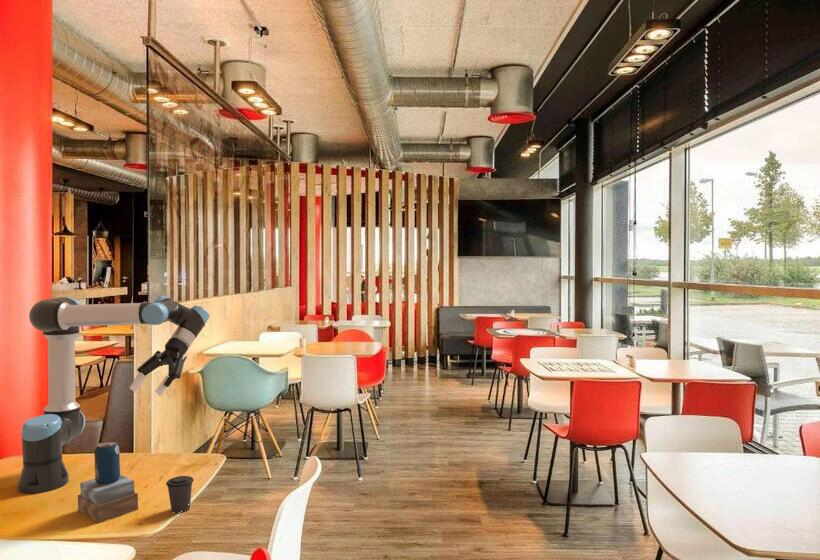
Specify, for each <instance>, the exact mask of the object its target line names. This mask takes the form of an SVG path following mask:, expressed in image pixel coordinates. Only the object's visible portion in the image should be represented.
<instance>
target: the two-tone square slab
mask: <svg viewBox="0 0 820 560" xmlns="http://www.w3.org/2000/svg"><path fill="white" fill-rule="evenodd" d="M79 484H80V494H78V495H77V512H79V513H80V512H81V514H82V513H83V514H82V515H83V516H85V515H86V517H87V516H88V517H87V518H89V519H90V518H91V521H93V522H95V521H96V523H97V524H101V523H104V522H106V521H109V520H111V519H115V518H117V517H118V518H119V517H122V516H123V515H126V514H128V513H129V514H130V513H132V512H135V511H138V510H139V498H138V497H139V496H138V495H139V494H138V492H136V491H135V480H133V479H132V478H129V477H127V476H125V475H122V474H120V478H119V479H118V481H117V482H115V483H113V484H109V485H99V484H98V483H97V482H96V480H95V478H92V479H90V480H86V481H83V482H79ZM108 519H109V520H108ZM105 520H106V521H105Z"/></svg>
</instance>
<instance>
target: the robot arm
mask: <svg viewBox="0 0 820 560" xmlns="http://www.w3.org/2000/svg"><path fill="white" fill-rule="evenodd" d="M28 317H29V321H30V324H31V325H32V326H33V327H34V328H35V329H36V330H37V331H40V332H42V336H43V337H45V338H46V339H47V364H48V365H47V370H48V371H47V373H48V374H47V376H48V377H47V378H48V379H47V380H48V382H47V384H48V387H47V388H48V389H47V390H48V404H47V405H46V406H45V407H44V408H43V414H41V415H38V416H33V417H31V418H29V419H27V420H26V421H24V422H23V424H22V427H21V431H20V432H21V435H20V437H21V448H22V469H21V471H20V475H19V478H18V480H17V481H18V482H17V491H18V492H19V493H23V494H37V493H43V492H49V491H52V490H56V489H58V488H60V487H64V486H65V485H67V484H68V483H69V482H70V481H69V479H70V474H69V471H68V470H67V468H66V465H65V463H64V460H63V446H64V445H66V444H68V443H69V442H72V441H74V440H75V439H76V438H78V437H79V436H80V435H81V434H82V432H83V431H84V429H85V426H86V417H85V414H84V413H83V412H82V410H81V405H80V404H79V403H78V402H77V401H76V349H75V348H76V344H75V343H76V340H75V339H76V337H78V335H80V327H98V326H99V327H101V326H126V325H127V326H128V325H129V326H130V325H150V326H151V325H152V326H157V325H161V324H164V323H166V322H169V323H172V324H174V325H176V326H177V327H176V329H175V331H174V332H173V333H172V334H171V336H170V337H169V339H168V340H167V342H166V343H165V344H164V351H160V350H156V351H155V353H154V354H153V355H152V356H150V357H149V358H148V359H147V360H146V361H145V362H144V363H142V364H141V365H140V366H139V367H137V369H136V371H137V372H138V375H136V377H135V378H134V381H133V382H131V384H130V386H128V388H129V390H131V391H132V392H133V393H136V392H137V391H138V390H139V388H140V386H141V385H142V384H143V383H144V381H146V378H147V375H149V374H150V373H152V372H154V371H155V370H156V369H158V368H160V367H163V366H166V365H167V366H168V373H167V374H166V375H165V377H163V380H162V381H161V383H160V384H159V385H158V386H157V388H156V389H155V393H156V394H157V395H159V397H163V395H164V394H165V392H166V390H167V389H168V388H169V387H170V385H171V384H172V382H173V381H174V380H176V379H177V380H179V379H181V377H182V372H183V369H184V364H185V361H186V360H187V359H188V358H187V355H185V354H186V353H187V351H189V348H190V347H191V345H192V344H193V343H194V341H195V340H196V338H197V337H198V336H199V334H200V333H201V331H202V330H203V328H204V327H205V326H206V324H207V322H208V321H209V319H210V313H209V311H208V310H207V309H206V308H205V307H203V306H201V305H196V304H195V305H193V306H192V307H187V306H185V305H183V304H181V303H179V302H177V301H176V300H173V299H172V298H170V297H167V296H165V295H159V296H158V297H157V298H156V299H155V300H154V302H132V303H131V302H129V303H102V304H101V303H98V304H93V303H92V304H81V303H80V301H78V300H77V299H75V298H73V297H65V296H61V297H60V296H59V297H54V298H48V299H42V300H40V301H38V302H36V303H35V304H34V305H32V307H31V308H30V310H29V316H28Z"/></svg>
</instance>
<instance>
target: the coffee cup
mask: <svg viewBox="0 0 820 560" xmlns="http://www.w3.org/2000/svg"><path fill="white" fill-rule="evenodd" d="M194 481H195V479H194V478H193V477H192V476H191V475H179V476H175V477H172V478H170V479H168V480H167V481H166V482H165V483H166V484H165V485H166V486H167V490H168V491H167V492H168V496H169V497H168V498H169V505H170V511H171V512H175V513H174V514H182V513H186V512H188V511H190V509H191V499H192V498H191V497H192V491H193V490H192V487H193V482H194ZM188 504H189V505H188ZM181 511H182V512H181ZM179 512H180V513H179Z"/></svg>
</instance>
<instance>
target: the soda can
mask: <svg viewBox="0 0 820 560" xmlns="http://www.w3.org/2000/svg"><path fill="white" fill-rule="evenodd" d="M120 454H121V453H120V446H119V445H118V442H117V441H116V440H108V441H102V442H99V443H96V446H95V449H94V479H95V480H96V482H97V483H98V484H99V485H109V484H113V483H115V482H117V481H118V479H119V478H120V475H121V464H120V462H121V461H120V458H121V457H120V456H121V455H120Z"/></svg>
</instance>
